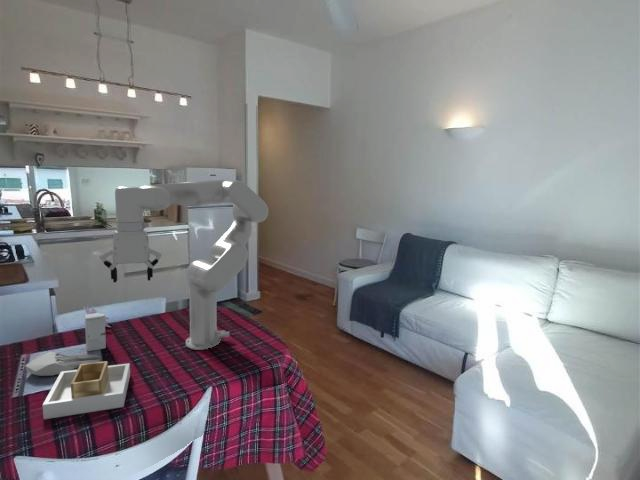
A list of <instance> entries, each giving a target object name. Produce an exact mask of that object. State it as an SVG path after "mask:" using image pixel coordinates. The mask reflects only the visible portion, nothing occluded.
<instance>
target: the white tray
mask: <svg viewBox="0 0 640 480" xmlns="http://www.w3.org/2000/svg"><path fill="white" fill-rule="evenodd" d="M130 365H131V363H122V364H113V365H108V379H109V380H108V383H107V387H106V390H105V393H104V394H101V395H94V396H87V397H80V398H73V399H72V396H71V382H72V380H73V378H74V376H75V374H76V372H77V370H78V369H72V370H68V371H62V372H61V373H59V374H58V377H57V378H56V380H55V382H54V384H53V385H52V387H51V389H50V390H49V393H48V394H47V396H46V397H45V400H44V401H43V403H42V414H43V420H48V419H49V420H50V419H54V418H55V419H56V418H61V417H62V418H63V417H68V416H73V415H80V414H87V413H92V412H93V413H94V412H98V411H99V412H100V411H105V410H111V409H112V410H113V409H118V408H124V407H125V402H126V396H127V393H128V392H127V391H128V388H129V382H130V378H131V366H130Z"/></svg>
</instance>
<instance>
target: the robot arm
mask: <svg viewBox="0 0 640 480" xmlns="http://www.w3.org/2000/svg"><path fill="white" fill-rule="evenodd" d="M114 202H115V220H116V223H115V224H116V230H114V231H113V232H114V233H113V239H112V249H111V250H108V251H106V252H104V253H102V254H100V255H99V259H100V260H101V262H102V263H103V265H104V266H105V267H107V268H108V269H109V270H110V280H113V281H112V282H113V283H117V282H118V268H117V266H118V265H119V264H120V265H122V264H129V265H130V264H145V265H146V266H147V269H146V273H147V277H146V278H147V281H151V278H153V277H154V276H153V275H154V273H153V268H154V267H155V266H156V264H158V263H159V261H160V260H161V257H162V253H161V252H159V251H157V250H154V249H152V248H150V243H149V236H148V232H147V230H146V228H149V225H150V224H149V223H148V222H145V221H144V210H146V211H156V212H157V211H163V210H166V209H167V208H168V207H170V206H186V207H202V206H210V205H220V204H232V209H231V211H232V222H231V225H230V227H229V228H228V229H227V230H226V231H225V232H224V233H223V235H221V236H220V238H218V240H217V241H216V242H214V244H213V245H212V246H211V248H210V250H209V256H210V258H211V260H212V261H213V262H212V261H210V260H207V259H203V258H202V259H196V260H193V261H192V262H191V263H190V264H189V265H188V267H187V270H186V280H187V281H186V282H187V286H188V296H189V298H188V299H189V337H187V338H186V339H185V346H186V347H187V348H188V349H191V350H195V351H197V350H198V351H203V350H204V351H205V349H206V350H209V349H208V348H211V349H213V348H212V347H214V346H216V345H218V344H219V343H220V344H221V342H222V338H230V331H226V330H224V329H223V330H218V328H217V324H218V322H217V321H218V320H217V317H218V316H217V306H218V305H217V301H218V300H217V296H218V295H217V293H218V292H221V291H222V290H223V289H225V288H226V287H227V286H228V285H229V284H230V283H231V282H232V280H234V278H235V277H236V276H237V275H238V274H239V273H240V271H242V269H243V268H244V267H245V265H246V264H247V261H248V258H249V251H248V249H247V247H246V246H245V245H246V244H247V243H248V241H249V239H250V238H251V236H252V226H253V224H252V223H257V224H258V223H262V222H264V221H265V220H267V218H268V216H269V211H270V210H269V206H268V205H267V203H266V202H265V200H264V199H262V198H261V197H260V196H259V195H258V194H257V193H256V192H255V191H254V190H253V189H251V187H250V186H248V185H247V184H246V183H245V182H243V181H241V180H237V179H214V180H211V179H210V180H201V181H200V180H199V181H197V180H196V181H184V182H177V183H176V182H175V183H174V182H173V183H159V184H157V183H156V184H146V185H142V186H140V187H138V186H117V187H116V188H115V191H114ZM150 254H151V255H152V256H154V257H155V258H154V259H153V260H152V261H151V260H150ZM109 256H112V262H111V261H109V260H108V257H109ZM220 341H221V342H220ZM220 344H219V345H220ZM219 345H218V346H219ZM216 347H217V346H216ZM214 348H215V347H214Z"/></svg>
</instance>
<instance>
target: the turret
mask: <svg viewBox="0 0 640 480" xmlns="http://www.w3.org/2000/svg"><path fill="white" fill-rule="evenodd" d="M95 362H102V361H101V359H100V355H99V354H97V353H95V354H85V355H83V354H82V355H65V354H61V353H58V352H54V351H47V352H45V353H43V354H41V355H39V356H37V357H36V358H33V360H31V361H30V362H28V363H27V364H26V365H24V368H25V369H26V371H27V372H28V373H29V374H31V375H34V376H42V377H43V376H55V375H59V374H60V373H61V372H62V371H70V370H75V369H74V368H79V365H80V364H87V363H95Z"/></svg>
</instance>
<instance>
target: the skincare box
mask: <svg viewBox="0 0 640 480" xmlns="http://www.w3.org/2000/svg"><path fill="white" fill-rule="evenodd" d="M105 316H106V314H105V312H97V313H94V314H87V313H86V314H85V315H84V326H85V327H84V329H85V330H84V331H85V348H86V349H85V350H86V352H91V351H97V350H98V351H99V350H103V349H106V348H107V346H106V345H107V343H106V342H107V339H106V338H107V337H106V336H107V335H106V326H105V324H106V323H105V321H106V320H105Z"/></svg>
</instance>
